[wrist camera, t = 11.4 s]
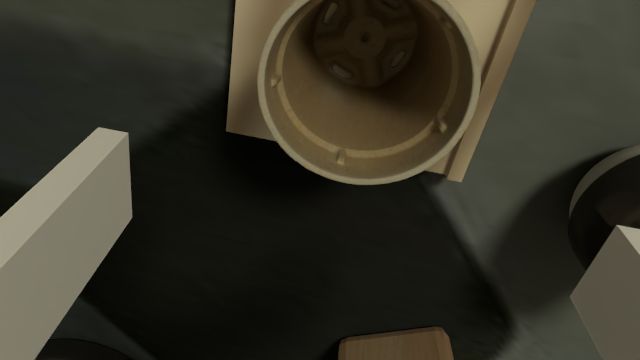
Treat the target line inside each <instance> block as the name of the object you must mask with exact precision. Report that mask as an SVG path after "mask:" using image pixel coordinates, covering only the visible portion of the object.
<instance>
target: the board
mask: <svg viewBox="0 0 640 360" xmlns="http://www.w3.org/2000/svg"><path fill="white" fill-rule="evenodd" d="M294 1H295V0H236V5H235V19H234V32H233V46H232V59H231V72H230V86H229V99H228V113H227V126H226V131H227V132H232V133H237V134H242V135H247V136H253V137H258V138H263V139H268V140H273V141H276V140H275V139H274V138H273V136H272V134H271V132H270V130H269V128H268V127H267V125H266V122H265V119H264V117H263V115H262V112H261V109H260V105H259V98H258V90H257V74H258V65H259V59H260V55H261V52H262V49H263V46H264V43H265V41H266V39H267V37H268V35H269V33H270V31H271V29H272V28H273V26H274V24H275V23H276V22H277V20H278V19H279V17H280V16H281V15H282V13H283V12H284V11H285V10H286V9H287V8H288V7H289V6H290V5H291V4H292V3H293V2H294ZM381 1H383V2H384V3H386V4H387V5H388V6H389V7H391V8H392V9H394V10H395V9H397V8H398V7H399V4H398V2H397V1H395V0H381ZM447 1H448V2H449V3H450V4H451V5H452V6H453V7H454V8H455V9H456V10H457V11H458V13H459V14H460V15H461V17H462V18H463V20H464V21H465V23H466V24H467V26H468V27H469V29H470V31H471V34H472V36H473V38H474V40H475V43H476V46H477V50H478V55H479V59H480V65H481V86H480V93H479V98H478V102H477V107H476V109H475V112H474V115H473V117H472V119H471V121H470V123H469V125H468V127H467V129H466V131H465V132H464V133H463V135H462V137H461V138H460V139H459V140H458V142H457V143H456V145H455V146H454V147H453V148H452V149H451V150H450V151H449V152H448V153H447V155H445V156H444V157H443V158H441V159H440V160H439V161H438V162H436V163H435V164H434V165H432V166H431V167H429V168H428V169H426V170H425V171H430V172H435V173H440V174H445V175H446V179H448V180H453V181H458V182H462V179H463V177H464V174H465V172H466V169H467V167H468V165H469V162H470V160H471V157H472V155H473V152H474V150H475V148H476V145H477V143H478V140H479V138H480V136H481V133H482V131H483V128H484V126H485V123H486V121H487V119H488V116H489V114H490V111H491V109H492V106H493V104H494V102H495V99H496V97H497V94H498V92H499V89H500V87H501V85H502V82H503V80H504V77H505V75H506V73H507V70H508V68H509V65H510V63H511V60H512V58H513V56H514V53H515V51H516V48H517V46H518V43H519V41H520V39H521V36H522V34H523V31H524V29H525V26H526V24H527V22H528V19H529V17H530V14H531V12H532V10H533V7H534V5H535V2H536V0H447ZM337 9H338V6H337V4H335V3H332V4H331V5H330V7H329V9H328V11H327V13H326V15H325V20H324V22H323V23H325V24H328V23H329V21H330V19H331V17H332V15H333V14H334V13H335V11H336V10H337ZM368 39H369V38H368V36H362V37H361V40H362V42H367V41H368ZM404 54H405V52H400V53H399V54H398V55H397V56H396V57H395V56H394V58H395V59H394V61H393V63H392V64H391V67H394V66H396V65H397V64H398V63H399V61H400V60H401V59H402V57H403V55H404ZM333 69H334V71H335V72H336V73H337V74H339V75H340V76H342V77H345V78H351V74H349V73H347V72H345V71H344V70H342V69H341V68H339V67H338V66H337V65H334V66H333Z"/></svg>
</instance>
